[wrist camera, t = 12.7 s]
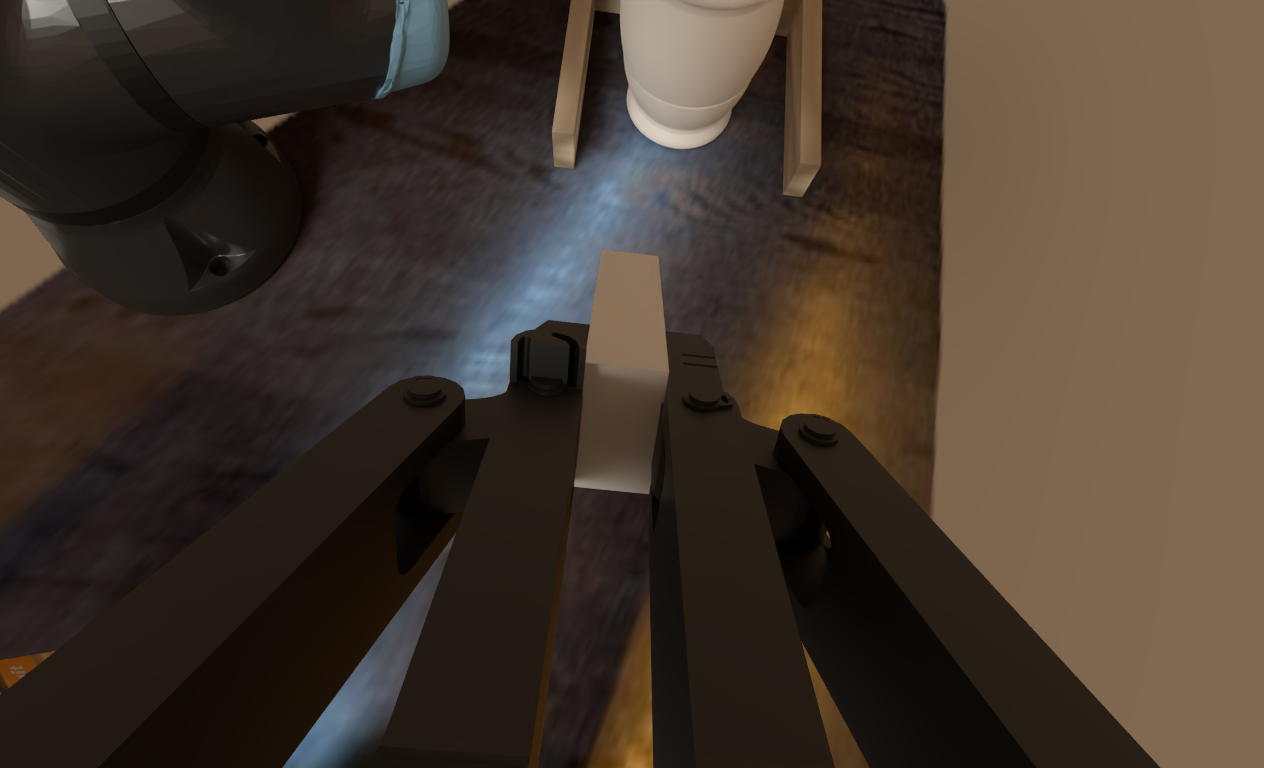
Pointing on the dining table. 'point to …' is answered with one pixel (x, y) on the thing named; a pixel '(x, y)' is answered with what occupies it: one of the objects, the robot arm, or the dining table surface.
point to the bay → (800, 98)
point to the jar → (691, 63)
